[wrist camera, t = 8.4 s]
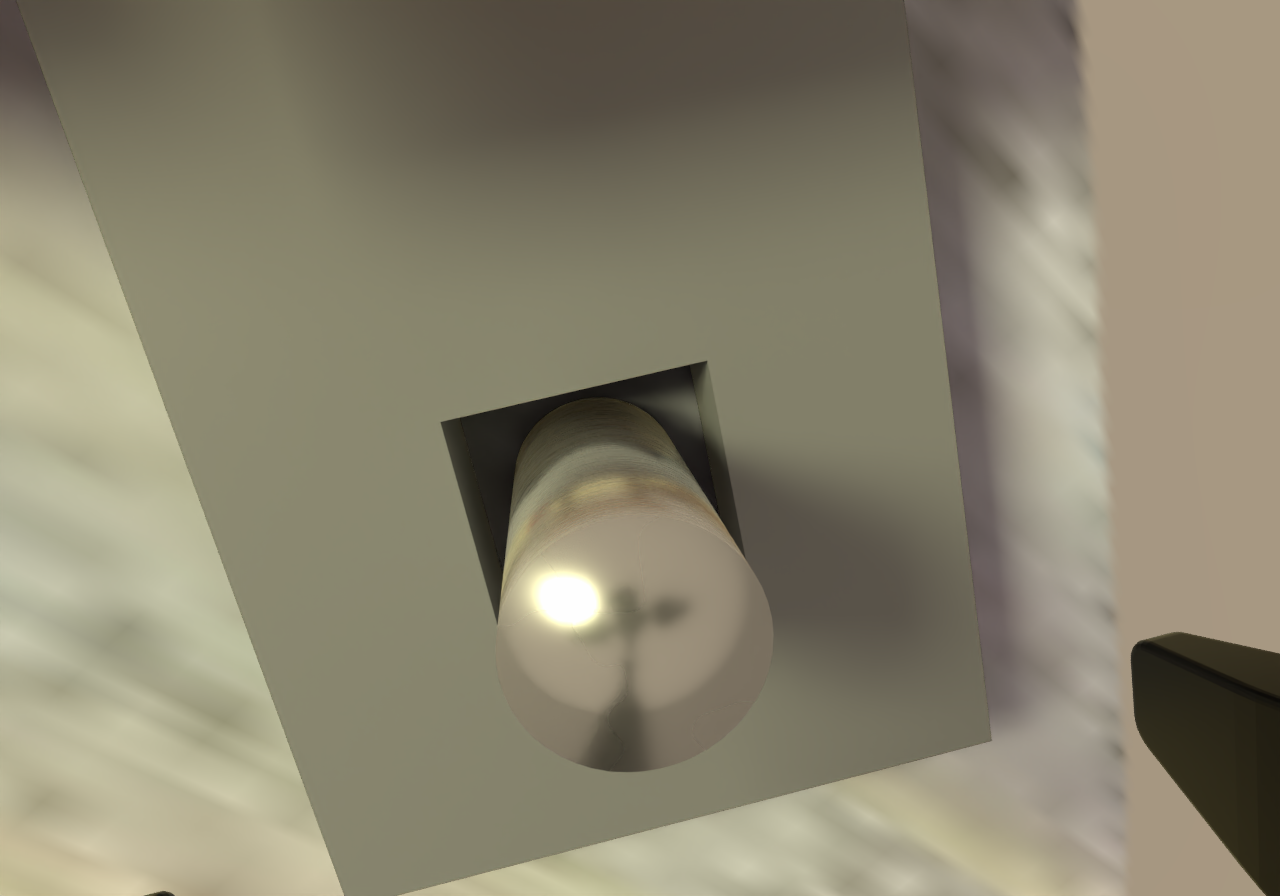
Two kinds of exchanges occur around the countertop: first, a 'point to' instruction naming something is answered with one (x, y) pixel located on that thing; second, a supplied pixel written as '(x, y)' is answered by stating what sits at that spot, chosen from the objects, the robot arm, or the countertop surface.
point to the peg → (623, 597)
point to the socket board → (534, 366)
